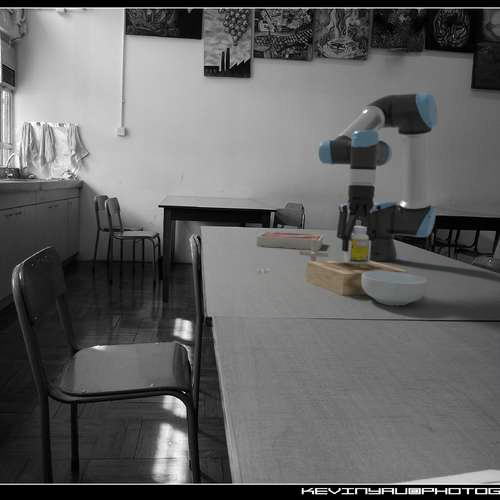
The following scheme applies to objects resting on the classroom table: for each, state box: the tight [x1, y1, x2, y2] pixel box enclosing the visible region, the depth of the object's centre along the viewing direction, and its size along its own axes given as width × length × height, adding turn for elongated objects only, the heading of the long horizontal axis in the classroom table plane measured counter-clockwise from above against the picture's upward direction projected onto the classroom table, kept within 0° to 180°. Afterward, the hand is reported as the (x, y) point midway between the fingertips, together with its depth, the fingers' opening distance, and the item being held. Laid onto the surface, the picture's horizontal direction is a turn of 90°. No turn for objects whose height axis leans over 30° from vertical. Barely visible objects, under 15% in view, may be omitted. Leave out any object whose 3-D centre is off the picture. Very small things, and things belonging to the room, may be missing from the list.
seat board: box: [306, 260, 408, 296], centre depth 155 cm, size 22×20×6 cm
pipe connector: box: [299, 240, 329, 262], centre depth 183 cm, size 10×10×10 cm
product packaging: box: [256, 231, 324, 251], centre depth 242 cm, size 22×28×5 cm
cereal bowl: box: [361, 271, 428, 307], centre depth 136 cm, size 17×17×7 cm
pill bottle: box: [349, 225, 369, 265], centre depth 154 cm, size 6×6×11 cm
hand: (356, 261), depth 155 cm, fingers closed on pill bottle, 6 cm apart
